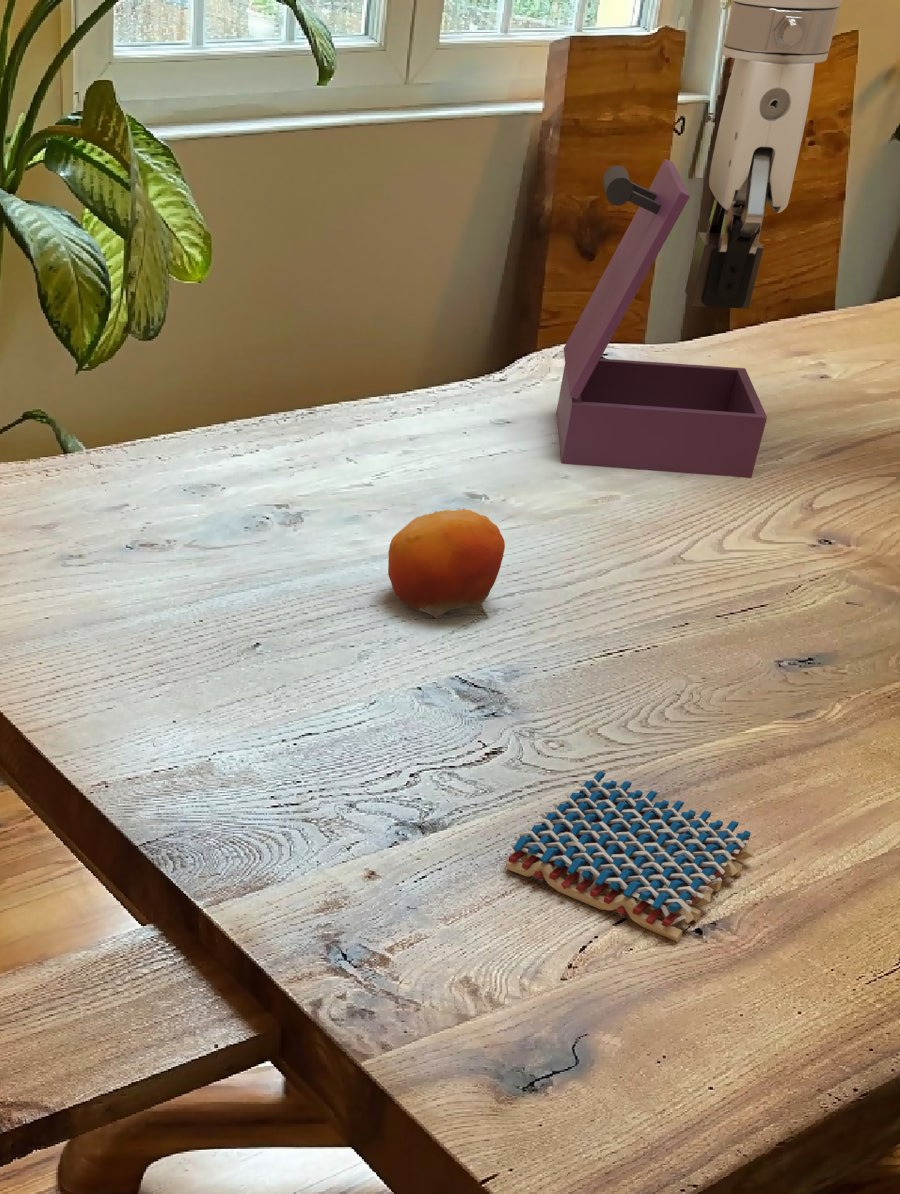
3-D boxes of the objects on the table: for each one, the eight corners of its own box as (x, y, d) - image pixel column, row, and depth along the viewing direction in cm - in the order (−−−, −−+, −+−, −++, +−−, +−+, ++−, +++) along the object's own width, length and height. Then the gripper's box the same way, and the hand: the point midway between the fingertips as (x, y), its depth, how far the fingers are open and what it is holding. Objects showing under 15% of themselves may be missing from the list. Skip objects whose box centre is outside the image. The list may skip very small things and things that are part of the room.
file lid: (673, 162, 121) (616, 135, 121) (690, 196, 111) (627, 166, 110) (571, 352, 132) (517, 328, 131) (577, 399, 121) (519, 373, 121)
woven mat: (493, 872, 80) (498, 841, 78) (584, 794, 86) (591, 764, 85) (673, 949, 74) (682, 917, 73) (756, 860, 81) (766, 829, 80)
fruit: (437, 626, 100) (418, 506, 99) (381, 640, 107) (363, 528, 106) (537, 607, 103) (519, 491, 101) (475, 622, 110) (458, 514, 109)
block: (740, 294, 121) (755, 235, 118) (748, 309, 118) (763, 248, 115) (684, 291, 122) (697, 231, 119) (691, 305, 118) (704, 244, 115)
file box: (726, 445, 134) (745, 368, 130) (745, 499, 124) (767, 417, 119) (552, 432, 136) (566, 356, 132) (557, 484, 126) (572, 403, 121)
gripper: (855, 50, 101) (782, 329, 113) (810, 23, 114) (749, 275, 126) (743, 46, 102) (682, 323, 113) (711, 19, 115) (659, 269, 127)
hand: (718, 295), depth 119 cm, fingers closed on block, 4 cm apart
